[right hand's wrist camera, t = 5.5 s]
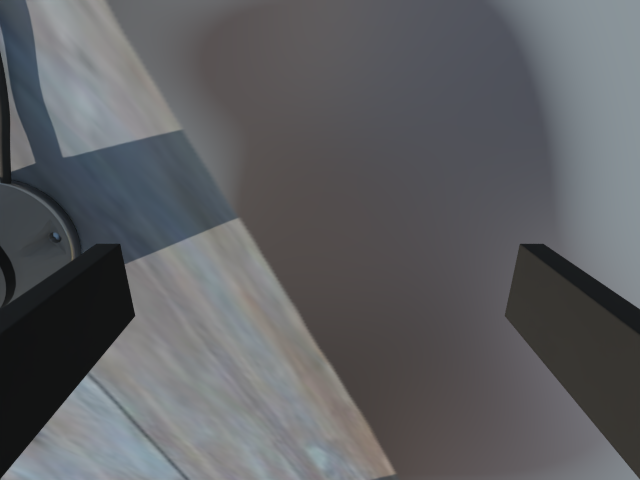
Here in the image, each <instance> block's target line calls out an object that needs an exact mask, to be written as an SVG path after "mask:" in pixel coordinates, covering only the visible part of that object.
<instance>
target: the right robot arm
mask: <svg viewBox="0 0 640 480" xmlns="http://www.w3.org/2000/svg"><path fill="white" fill-rule="evenodd" d="M134 317H135V313H134V308H133V303H132V298H131V294H130V289H129V284H128V279H127V275H126V270H125V265H124V260H123V256H122V251H121V246H120V244H96V245H94V246H93V247H91V248H90V249H88V250H87V251H86V252H84V253H83V254H81V247H80V241H79V237H78V234H77V231H76V229H75V227H74V225H73V223H72V221H71V219H70V218H69V217H68V215H67V214H66V212H65V211H64V210H63V209H62V208H61V207H60V206H59V205H58V204H57V203H56V202H55V201H54V200H53V199H52V198H50V197H49V196H48V195H46V194H45V193H43V192H41V191H40V190H38V189H36V188H34V187H32V186H30V185H27V184H24V183H21V182H18V181H14V180H11V162H10V111H9V101H8V93H7V85H6V79H5V73H4V67H3V62H2V58H1V53H0V479H1V477H2V476H3V475H4V474H5V473H6V471H7V470H8V469H9V468H10V467H11V465H12V464H13V463H14V462H15V461H16V459H17V458H18V457H19V456H20V455H21V453H22V452H23V451H24V450H25V448H26V447H27V446H28V445H29V444H30V442H31V441H32V440H33V439H34V438H35V436H36V435H37V434H38V433H39V432H40V430H41V429H42V428H43V427H44V426H45V424H46V423H47V422H48V421H49V419H50V418H51V417H52V416H53V415H54V413H55V412H56V411H57V410H58V409H59V407H60V406H61V405H62V404H63V403H64V401H65V400H66V399H67V398H68V396H69V395H70V394H71V393H72V392H73V390H74V389H75V388H76V387H77V386H78V384H79V383H80V382H81V381H82V380H83V378H84V377H85V376H86V375H87V374H88V372H89V371H90V370H91V369H92V367H93V366H94V365H95V364H96V363H97V361H98V360H99V359H100V358H101V357H102V355H103V354H104V353H105V352H106V351H107V349H108V348H109V347H110V346H111V345H112V343H113V342H114V341H115V340H116V338H117V337H118V336H119V335H120V334H121V332H122V331H123V330H124V329H125V328H126V326H127V325H128V324H129V323H130V322H131V320H132V319H133V318H134ZM505 317H506V318H507V319H508V320H509V322H510V323H511V324H512V325H513V326H514V328H515V329H516V330H517V331H518V332H519V334H520V335H521V336H522V337H523V338H524V340H525V341H526V342H527V343H528V344H529V346H530V347H531V348H532V349H533V351H534V352H535V353H536V354H537V355H538V357H539V358H540V359H541V360H542V361H543V363H544V364H545V365H546V366H547V367H548V369H549V370H550V371H551V372H552V374H553V375H554V376H555V377H556V378H557V380H558V381H559V382H560V383H561V384H562V386H563V387H564V388H565V389H566V390H567V392H568V393H569V394H570V395H571V396H572V398H573V399H574V400H575V401H576V403H577V404H578V405H579V406H580V407H581V408H582V410H583V411H584V412H585V413H586V415H587V416H588V417H589V418H590V419H591V421H592V422H593V423H594V424H595V426H596V427H597V428H598V429H599V430H600V432H601V433H602V434H603V435H604V436H605V438H606V439H607V440H608V441H609V442H610V444H611V445H612V446H613V447H614V448H615V450H616V451H617V452H618V453H619V455H620V456H621V457H622V458H623V459H624V461H625V462H626V463H627V464H628V465H629V467H630V468H631V469H632V470H633V471H634V473H635V474H636V475H637V476H638V477H639V479H640V309H639V308H637V307H636V306H634V305H633V304H631V303H630V302H628V301H627V300H625V299H624V298H622V297H621V296H619V295H618V294H616V293H615V292H613V291H612V290H610V289H609V288H608V287H606V286H605V285H603V284H602V283H600V282H599V281H597V280H596V279H594V278H593V277H591V276H590V275H588V274H587V273H585V272H584V271H582V270H581V269H580V268H578V267H577V266H575V265H574V264H572V263H571V262H569V261H568V260H566V259H565V258H563V257H562V256H560V255H559V254H557V253H556V252H554V251H553V250H551V249H550V248H549V247H547V246H546V245H544V244H520V246H519V251H518V256H517V260H516V265H515V270H514V275H513V280H512V284H511V289H510V294H509V298H508V303H507V308H506V313H505Z"/></svg>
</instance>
